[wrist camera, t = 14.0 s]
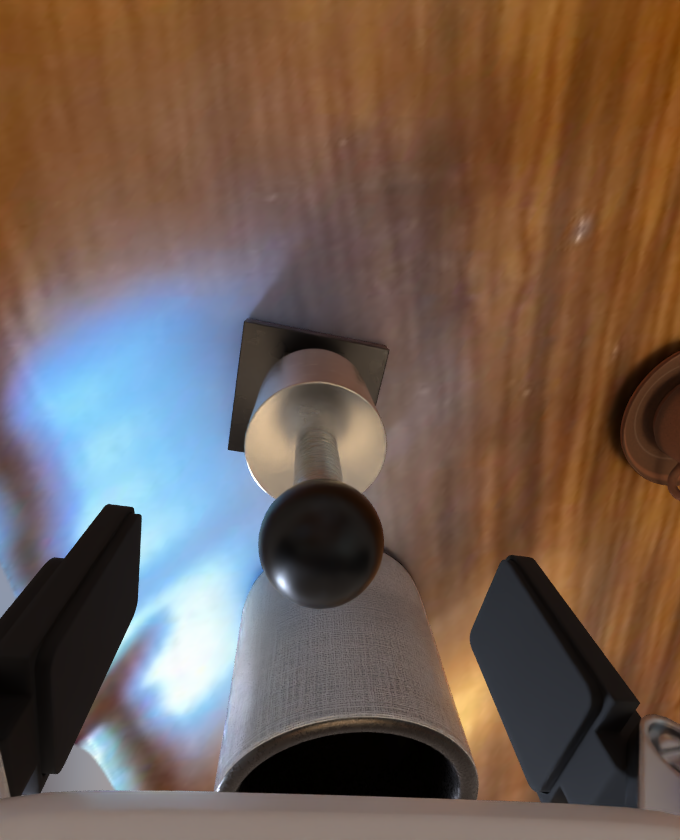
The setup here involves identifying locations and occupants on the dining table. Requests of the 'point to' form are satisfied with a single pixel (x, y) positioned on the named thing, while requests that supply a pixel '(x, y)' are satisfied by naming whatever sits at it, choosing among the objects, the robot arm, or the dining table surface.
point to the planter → (343, 699)
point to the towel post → (317, 478)
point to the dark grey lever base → (275, 342)
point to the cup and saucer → (655, 426)
